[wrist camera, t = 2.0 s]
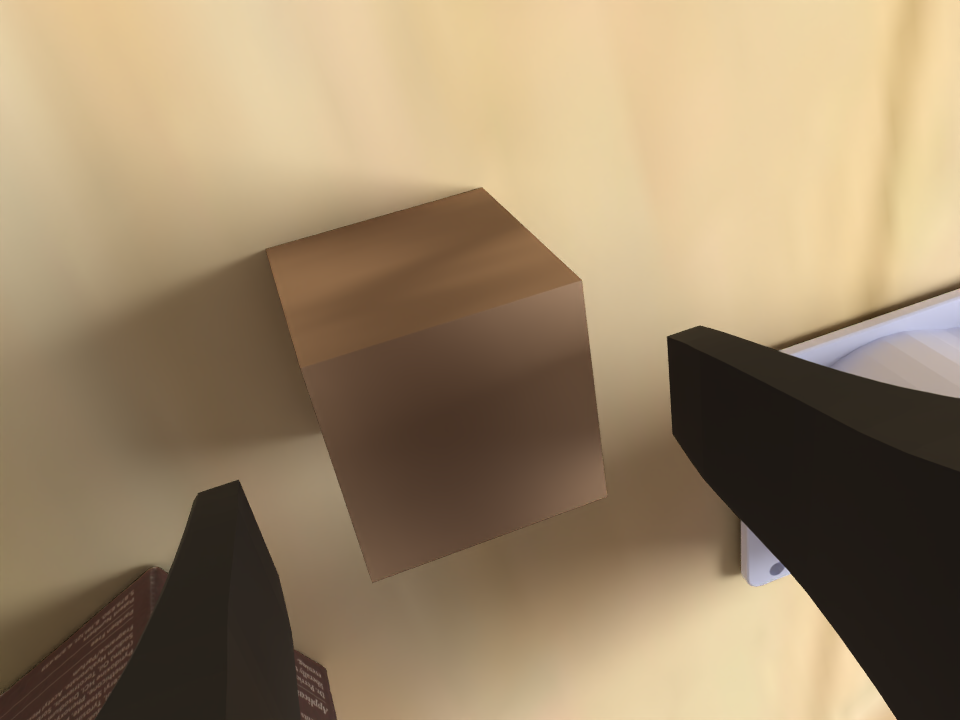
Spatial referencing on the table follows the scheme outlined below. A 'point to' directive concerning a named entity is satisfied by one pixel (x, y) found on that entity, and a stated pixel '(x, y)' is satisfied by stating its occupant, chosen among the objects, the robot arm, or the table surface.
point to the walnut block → (444, 375)
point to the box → (121, 664)
